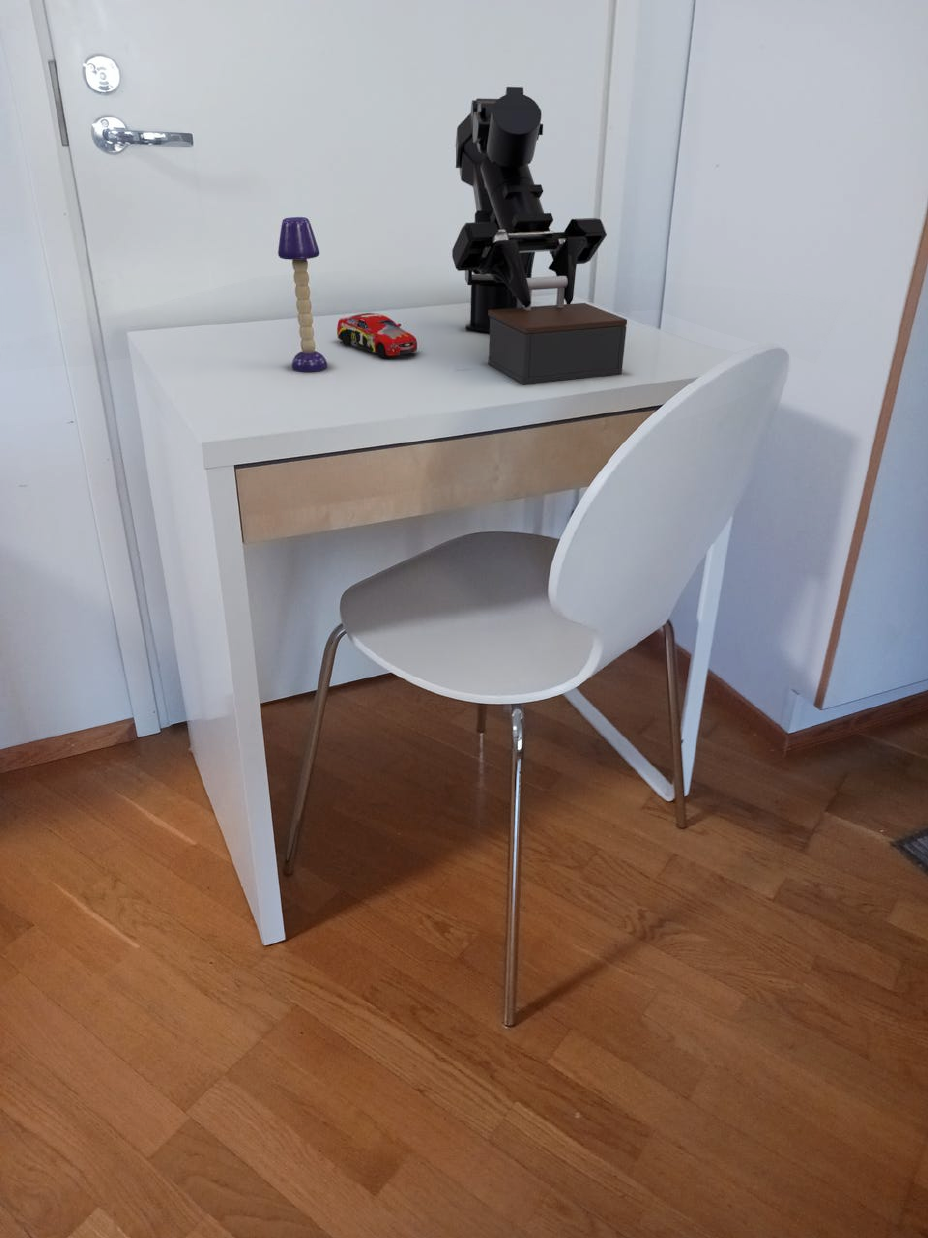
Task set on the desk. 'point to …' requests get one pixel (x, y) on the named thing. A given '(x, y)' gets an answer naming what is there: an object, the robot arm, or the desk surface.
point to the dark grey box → (556, 353)
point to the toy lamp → (302, 287)
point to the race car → (376, 334)
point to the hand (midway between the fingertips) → (549, 303)
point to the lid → (555, 312)
